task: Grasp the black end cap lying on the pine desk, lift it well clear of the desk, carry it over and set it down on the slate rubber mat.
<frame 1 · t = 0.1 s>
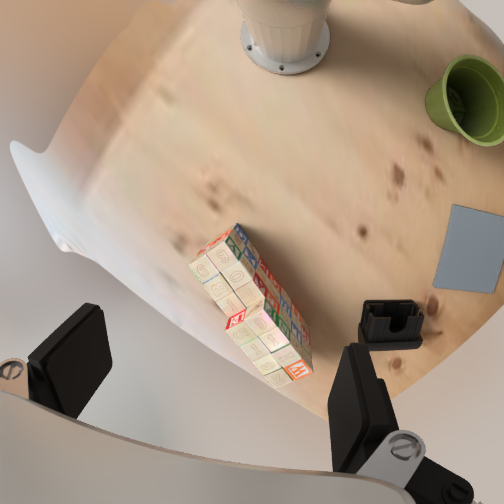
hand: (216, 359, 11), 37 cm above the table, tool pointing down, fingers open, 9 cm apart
plant pot: (443, 105, 38), on the table
stack of blocks: (259, 286, 51), on the table
end cap: (385, 317, 51), on the table
slate mat: (474, 251, 44), on the table
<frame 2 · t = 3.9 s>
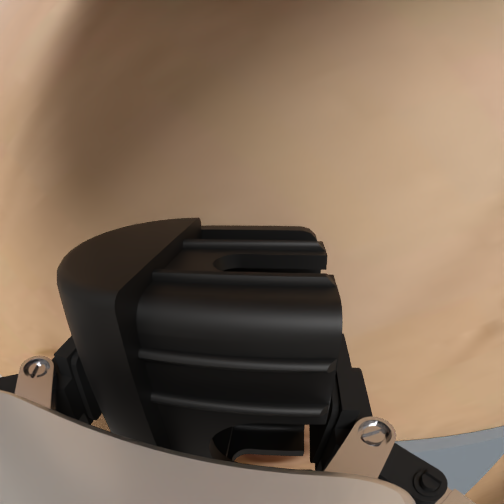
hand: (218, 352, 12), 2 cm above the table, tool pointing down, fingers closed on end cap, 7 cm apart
end cap: (226, 328, 13), on the table, touching gripper
slate mat: (404, 489, 17), on the table
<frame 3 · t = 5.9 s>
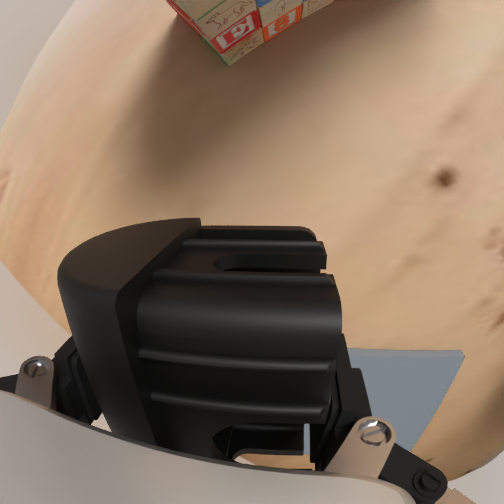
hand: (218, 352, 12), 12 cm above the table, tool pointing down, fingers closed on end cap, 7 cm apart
end cap: (226, 327, 13), point 10 cm above the table, touching gripper
slate mat: (375, 406, 27), on the table
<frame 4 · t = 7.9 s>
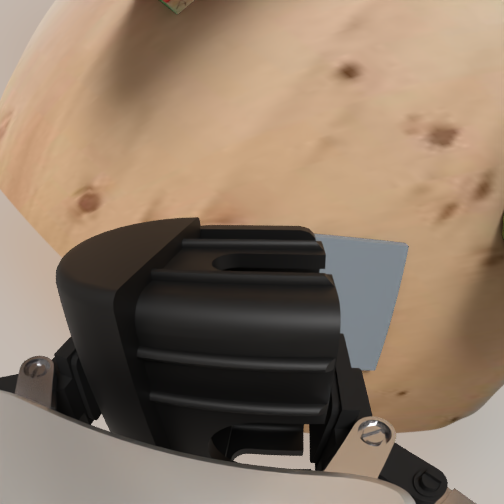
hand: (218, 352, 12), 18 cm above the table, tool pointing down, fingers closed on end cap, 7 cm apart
end cap: (225, 327, 13), point 16 cm above the table, touching gripper
slate mat: (322, 305, 30), on the table
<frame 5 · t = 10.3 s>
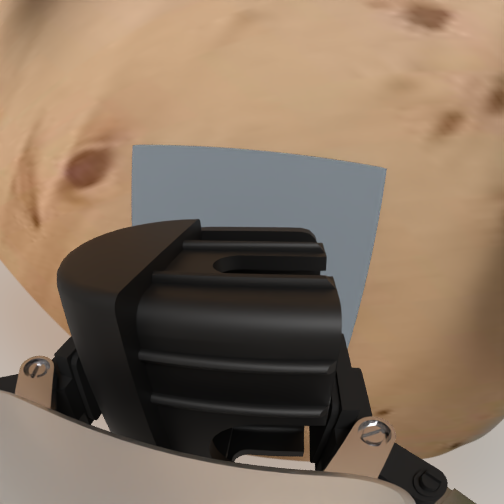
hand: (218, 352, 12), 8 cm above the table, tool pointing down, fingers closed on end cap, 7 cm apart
end cap: (225, 328, 13), point 6 cm above the table, touching gripper
slate mat: (247, 268, 19), on the table
when the fingers open (4 cm above the table, at t = 12.2 s): end cap drops 1 cm, resting on slate mat.
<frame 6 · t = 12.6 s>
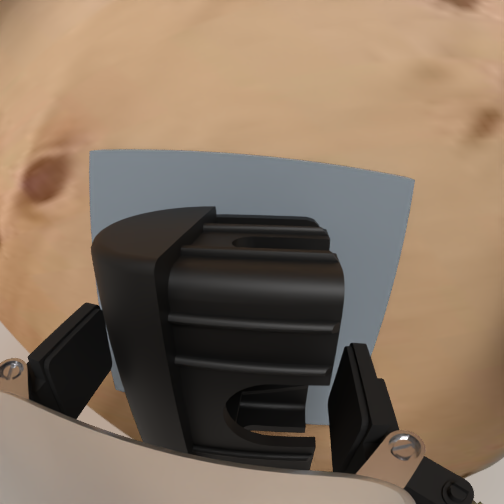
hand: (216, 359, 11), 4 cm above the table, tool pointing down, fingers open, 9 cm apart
end cap: (234, 310, 14), point 1 cm above the table, touching slate mat
slate mat: (234, 304, 15), on the table
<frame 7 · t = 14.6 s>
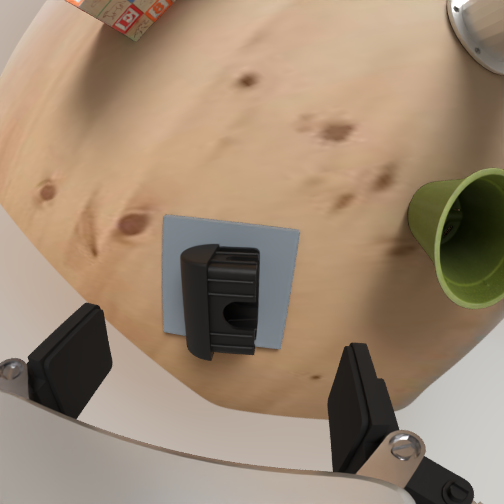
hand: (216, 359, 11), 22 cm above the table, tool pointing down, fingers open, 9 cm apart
plant pot: (435, 213, 31), on the table
end cap: (226, 286, 34), point 1 cm above the table, touching slate mat
slate mat: (225, 284, 35), on the table
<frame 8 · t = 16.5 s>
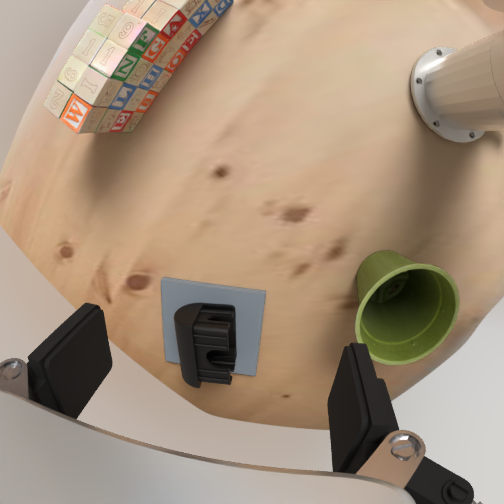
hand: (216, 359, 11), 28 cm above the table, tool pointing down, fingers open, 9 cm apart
plant pot: (382, 274, 39), on the table
stack of blocks: (163, 53, 33), on the table
end cap: (211, 330, 44), point 1 cm above the table, touching slate mat
slate mat: (211, 328, 44), on the table
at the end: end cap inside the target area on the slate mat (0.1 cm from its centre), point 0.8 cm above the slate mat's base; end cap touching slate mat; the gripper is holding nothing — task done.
